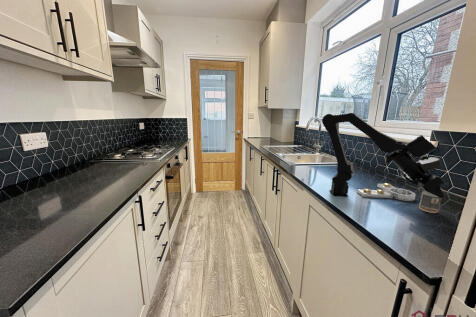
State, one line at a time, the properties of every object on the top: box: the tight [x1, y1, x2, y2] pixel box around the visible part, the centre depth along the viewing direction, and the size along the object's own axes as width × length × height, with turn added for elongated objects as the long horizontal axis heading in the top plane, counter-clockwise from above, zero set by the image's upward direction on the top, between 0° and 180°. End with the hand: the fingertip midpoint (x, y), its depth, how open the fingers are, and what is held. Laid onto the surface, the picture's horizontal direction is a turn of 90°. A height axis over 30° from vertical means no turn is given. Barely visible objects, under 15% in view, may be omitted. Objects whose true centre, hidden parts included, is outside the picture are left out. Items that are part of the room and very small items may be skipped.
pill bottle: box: [418, 188, 443, 214], centre depth 77 cm, size 6×6×10 cm
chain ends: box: [356, 182, 416, 202], centre depth 96 cm, size 23×18×3 cm
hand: (434, 192), depth 76 cm, fingers open, 9 cm apart
